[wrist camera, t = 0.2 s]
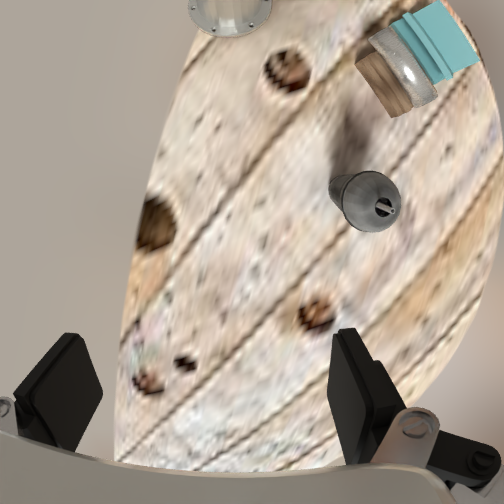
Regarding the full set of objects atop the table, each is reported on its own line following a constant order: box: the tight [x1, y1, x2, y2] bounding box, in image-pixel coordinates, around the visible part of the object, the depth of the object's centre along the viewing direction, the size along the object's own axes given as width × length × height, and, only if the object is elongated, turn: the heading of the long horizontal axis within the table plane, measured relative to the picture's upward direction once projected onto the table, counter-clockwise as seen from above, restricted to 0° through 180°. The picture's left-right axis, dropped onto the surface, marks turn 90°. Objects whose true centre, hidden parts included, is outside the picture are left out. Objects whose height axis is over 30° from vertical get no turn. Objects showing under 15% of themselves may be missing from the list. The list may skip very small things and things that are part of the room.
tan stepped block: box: [355, 38, 437, 118], centre depth 38 cm, size 10×9×4 cm
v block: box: [388, 0, 480, 85], centre depth 34 cm, size 12×10×6 cm
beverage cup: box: [329, 171, 401, 233], centre depth 36 cm, size 7×7×20 cm
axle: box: [368, 26, 438, 108], centre depth 34 cm, size 12×4×4 cm, turn 37°
